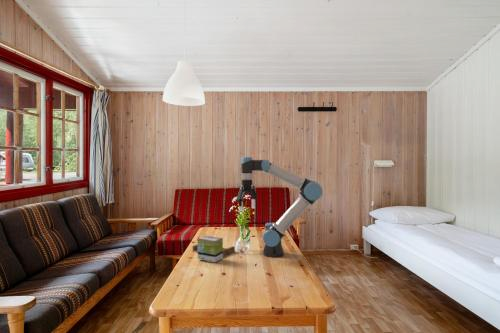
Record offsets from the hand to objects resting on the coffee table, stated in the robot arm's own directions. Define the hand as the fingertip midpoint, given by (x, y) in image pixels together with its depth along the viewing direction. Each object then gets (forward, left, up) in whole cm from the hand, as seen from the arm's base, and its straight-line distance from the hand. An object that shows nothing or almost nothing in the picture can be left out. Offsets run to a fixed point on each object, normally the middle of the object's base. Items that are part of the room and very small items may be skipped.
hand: (247, 209), depth 217 cm
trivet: (+16, -19, -35) cm, 43 cm away
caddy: (+2, -32, -35) cm, 47 cm away
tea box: (+17, -20, -34) cm, 43 cm away
